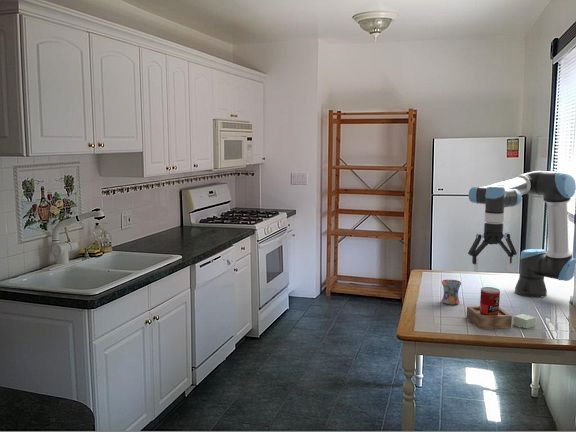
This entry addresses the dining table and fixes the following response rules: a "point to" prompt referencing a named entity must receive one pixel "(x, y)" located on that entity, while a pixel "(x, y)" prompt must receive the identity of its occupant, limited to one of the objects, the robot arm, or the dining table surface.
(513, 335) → the dining table surface
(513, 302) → the dining table surface
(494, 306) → the canned food
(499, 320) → the wooden tray
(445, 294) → the mug
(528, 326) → the brick
